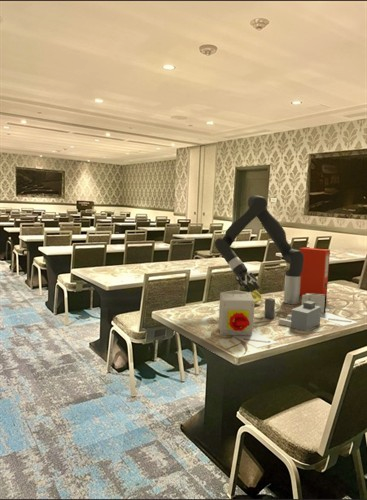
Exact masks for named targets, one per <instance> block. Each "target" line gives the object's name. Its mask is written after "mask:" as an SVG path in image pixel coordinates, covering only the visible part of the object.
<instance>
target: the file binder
mask: <svg viewBox="0 0 367 500" xmlns="http://www.w3.org/2000/svg"><path fill="white" fill-rule="evenodd" d="M298 250H299V251H301V252H302V253H303V256H304V262H303V270H302V273H301V282H300V297H302V295H306V294H307V293H308V294H323V295H326V296H328V295H327V293H328V283H329V281H328V279H329V267H330V255H331V254H330V252H331V249H325V248H313V247H312V248H311V247H299V249H298Z"/></svg>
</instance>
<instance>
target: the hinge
mask: <svg viewBox="0 0 367 500" xmlns="http://www.w3.org/2000/svg"><path fill="white" fill-rule="evenodd" d="M327 296H328V295H327ZM327 296H326V295H323V294H308V293H307V294H306V295H302V296H301V305H303V303H304V302H306V301H312V302H315V306H320V307H321V313H320V314H326V311H327V310H326V309H327Z"/></svg>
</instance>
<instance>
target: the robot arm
mask: <svg viewBox="0 0 367 500" xmlns="http://www.w3.org/2000/svg"><path fill="white" fill-rule="evenodd" d="M247 206H248V209H247V210H246V212H244V213H243V214H242V215H241V216H239V218H237V219H236V220H235V221H234V222H233V223H232V224H231V225H230V226H229V227H228V228H227V229H226V231H225V234H224V236H223V237H218V238H216V239H215V241H214V247H215V248H216V250H217V251H218V252H219V254H220V255H221V256H222V257H223V259H224V260H225V262H226V263H227V265H228V266H229V268H230V270H231V271H232V273H233V274H234V276H235V280H236V282H237V283H238V285H239V286H240V287H242V288H244V289H245V290H246V292H248V293H251V292H252V289H251V288H250V286H249V284H252V286H253V287H254V288H255V290H256V291H258V290H259V289H260V286H259V285H258V283H257V282H258V279H257V278H256V276H255V275H254V274H253V273H252V272H250V273H248V268H247V267H246V265H245V264H244V262H243V261H242V260H241V259H240V258H239V256H238V255H237V254H236V252H235V251H234V250H233V249H232V248H231V246H232V245H233V243H234V241H235V240H236V238H237V237H238V236H239V235H240V234H241V233H242V232H243V230H244V229H245V228H247V226H249V224H250V223H251V222H252V221H253V220H254V219H255V218H256V217H257V218H258V219H257V220H259V222H260V224H261V225H262V227H263V229H264V230H265V232H266V233H267V235H268V236H269V238H270V239H271V241H272V242H273V243H274V244H275V247H277V249H278V252H279V253H280V254H281V256H282V258H283V260H284V261H285V262H286V264H289V269H286V270H285V275H284V276H285V277H284V294H283V295H284V296H283V303H286V304H289V305H299V304H300V297H301V295H300V282H301V273H302V270H303V262H304V256H303V253H302V252H301V251H299V250H300V249H294V248H293V247H292V246H291V245H290V244H289V242H288V240H287V234H286V231H285V229H284V228H283V227H284V226H282V224H281V223H280V222H279V220H278V219H276V218H275V217H274V216H273V215H272V213H270V212H269V210H268V209H267V206H268V201H267V198H265V197H263V196H260V195H258V194H257V195H256V194H255V195H251V196H250V197H249V198H248V199H247ZM248 283H249V284H248Z"/></svg>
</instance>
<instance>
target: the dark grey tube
mask: <svg viewBox="0 0 367 500" xmlns="http://www.w3.org/2000/svg"><path fill="white" fill-rule="evenodd" d="M275 307H276V299H275V298H272V297H267V298H265V299H264V311H263V312H264V315H263V316H264V317H263V318H264V319H266V320H274V319H275V310H276V309H275Z"/></svg>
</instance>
